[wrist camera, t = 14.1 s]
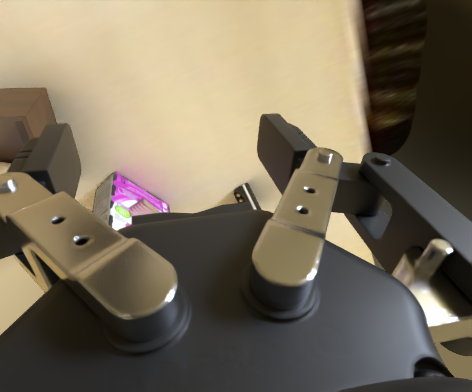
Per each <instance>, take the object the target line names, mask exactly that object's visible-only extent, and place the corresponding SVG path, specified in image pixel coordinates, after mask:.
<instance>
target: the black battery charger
mask: <svg viewBox="0 0 472 392" xmlns="http://www.w3.org/2000/svg"><path fill="white" fill-rule="evenodd" d="M234 195H235V198H236V200H237V202H238V203H243V202H250V204H251V206H252V208H253V209H256V210H261V208H260V206H259V204H258V202H257V200H256V198H255V196H254V194H253V192H252V190H251V188H250V186H249V184H248V183H246V184H242V185H241V186H239V187H238V188H236V189H235V190H234Z"/></svg>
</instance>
